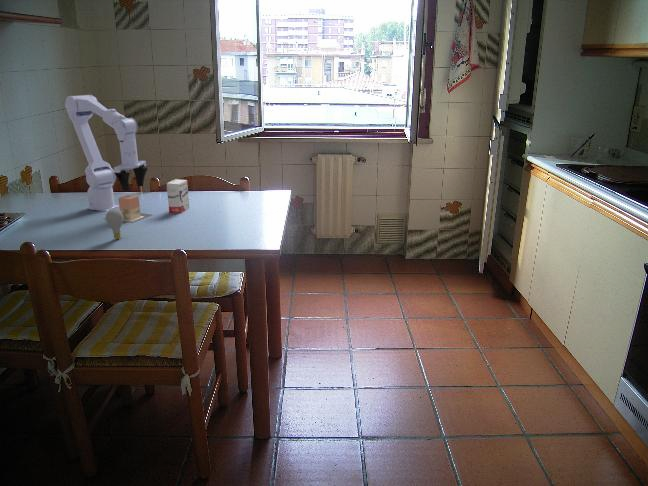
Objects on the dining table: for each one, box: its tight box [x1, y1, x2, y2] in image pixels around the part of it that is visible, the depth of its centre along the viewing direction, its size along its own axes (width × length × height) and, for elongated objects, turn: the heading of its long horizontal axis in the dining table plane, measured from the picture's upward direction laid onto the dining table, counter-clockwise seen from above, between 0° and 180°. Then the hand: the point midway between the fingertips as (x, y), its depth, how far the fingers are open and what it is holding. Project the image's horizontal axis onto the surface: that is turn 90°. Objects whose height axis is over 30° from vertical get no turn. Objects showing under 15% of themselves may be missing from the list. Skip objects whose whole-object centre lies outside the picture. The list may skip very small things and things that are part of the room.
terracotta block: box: [118, 194, 141, 210], centre depth 200 cm, size 5×5×4 cm
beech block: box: [119, 206, 141, 220], centre depth 201 cm, size 5×5×4 cm
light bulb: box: [105, 209, 124, 240], centre depth 177 cm, size 5×5×10 cm
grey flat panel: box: [103, 212, 153, 224], centre depth 203 cm, size 14×12×1 cm
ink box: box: [166, 178, 190, 214], centre depth 210 cm, size 9×5×12 cm, turn 169°
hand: (133, 188), depth 204 cm, fingers open, 7 cm apart
